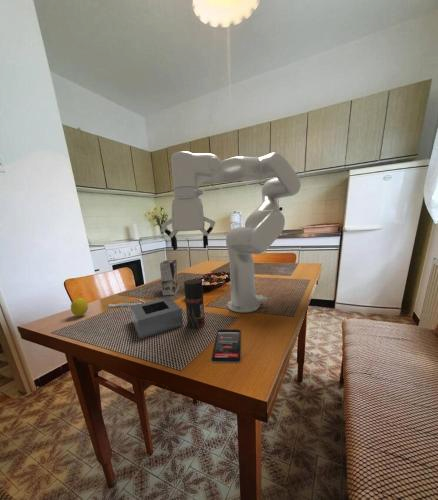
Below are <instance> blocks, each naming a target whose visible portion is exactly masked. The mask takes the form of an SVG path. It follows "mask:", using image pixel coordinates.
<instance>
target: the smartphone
mask: <svg viewBox="0 0 438 500" xmlns="http://www.w3.org/2000/svg"><path fill="white" fill-rule="evenodd" d="M210 360H211V362H212V363H216V364H217V363H219V364H240V363H241V362H242V330H241V329H236V328H235V329H229V328H228V329H227V328H226V329H224V328H223V329H218V330H217V331H216V336H215V341H214V346H213V351H212V355H211V359H210Z"/></svg>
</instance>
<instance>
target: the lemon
mask: <svg viewBox="0 0 438 500" xmlns="http://www.w3.org/2000/svg"><path fill="white" fill-rule="evenodd" d="M88 308H89V304H88V301H87V300H86V299H85V298H83V297H80V296H77V297H76V298H75V299H74V300H72V301H71V305H70V310H71V313H72V314H73V315H74V316H78V317H81V318H82V317H83V315H85V314H86V313H87V312H88Z"/></svg>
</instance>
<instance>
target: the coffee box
mask: <svg viewBox="0 0 438 500" xmlns="http://www.w3.org/2000/svg"><path fill="white" fill-rule="evenodd" d="M159 267H160V268H159V269H160V280H161V281H160V282H161V292H162V296H175V295H176V294H177V292H178V291H179V279H178V278H179V277H178V276H179V275H178V269H177V268H178V265H177V259H170V260H169V259H168V260H163V261H162V262H160V263H159Z"/></svg>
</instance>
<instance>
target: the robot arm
mask: <svg viewBox="0 0 438 500" xmlns="http://www.w3.org/2000/svg"><path fill="white" fill-rule="evenodd" d="M170 161H171V171H172V172H171V173H172V174H171V175H172V184H173V185H172V186H173V187H172V188H173V196H174V197H173V199H172V203H171V218H170V219H168V220H166V221H165V222H163V223H161V224H160V227H161V229H163V231H164V233H165V235H167V236H168V237H169V238H170V243H171V245H170V246H171V248H173V249H172V250H173V251H176V250H178V239H177V237H176V235H177V234H178V232H188V231H189V232H191V231H194V232H195V231H200V232H201V233H202V234H203V235H202V244H203V248H204V249H207V246H209V239H208V236H209V234H210V233H211V232H212V231H213V229H214V227H215V225H216V221H215V220H212V219H210V218H208V217H205V215H204V214H205V212H204V207H203V203H202V202H203V201H202V198H199V197H200V196H203V190H202V189H201V190H200V189H198V188H199V187H198V186H199V185H205V184H206V185H210V184H212V185H214V184H220V183H221V184H222V183H233V182H247V181H255V182H257V181H263V180H267V179H268V180H267V181H266V182H264V183H263V186H262V188H261V198H262V199H261V200H262V201H261V204H259V206H258V207H257V208H256V209H254V211H253V212H252V213H250V215H248V217H247V218H246V220H245V222H244V227H243V226H241V227H234V228H232V229H230V230H229V231H228V232H227V234H226V237H225V245H226V249H227V253H228V260H229V279H230V298H231V299H230V301H228V303H227V308H228V309H229V310H231V311H233V312H235V313H243V314H244V313H252V312H255V311H257V310H258V309H259V308H260V303H262V302H263V303H266V302H268V297H267V296H263V295H257V294H256V284H255V263H254V257H253V255H261V254H263V253H265V252H266V251H267V250H268V249H269V248H270V246H272V244H273V243H274V242H275V241H276V240H277V238H278V237H279V236H280V235H281V234H282V233H283V230H284V228H285V225H286V221H285V220H286V219H285V215H284V213H282V212H281V210H280V206H279V203H278V199H282V198H288V197H292V196H294V195H295V196H296V195H297V194H298V193H299V192H300V189H301V179H300V177H299V175H298V174H297V173H296V171H295V169H293V167H292V165H291V164H290V163H289V161H288V160H287V159H286V157H285V156H283V155H282V154H281V153H280V152H276V151H272V152H270V153H268V154H265V155H263V156H259V157H258V156H257V157H256V156H243V155H242V156H241V155H240V156H234V157H230V158H227V159H224V160H221V159H220V158H219V157H218V156H217V155H216V154H213V153H193V152H191V151H184V150H183V151H182V150H181V151H177V152H174V153H173V154H171V158H170ZM205 222H206V223H209V228H207V230H206V229H205ZM170 225H171V228H172V231H170V230H169V228H168V226H170Z"/></svg>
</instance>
